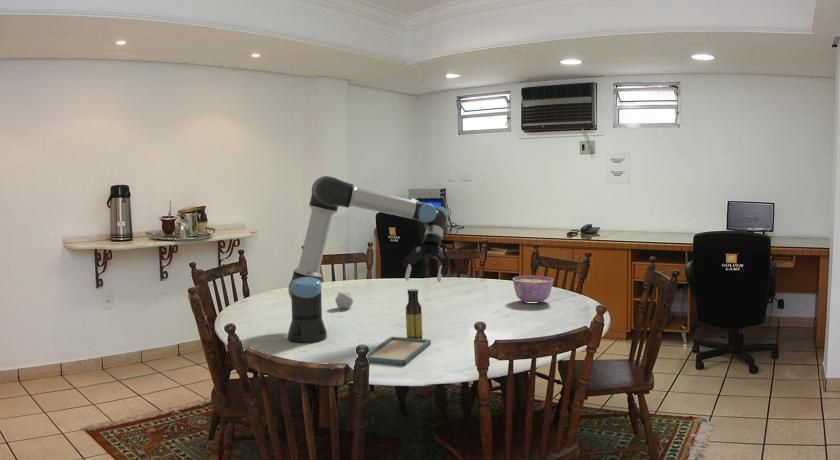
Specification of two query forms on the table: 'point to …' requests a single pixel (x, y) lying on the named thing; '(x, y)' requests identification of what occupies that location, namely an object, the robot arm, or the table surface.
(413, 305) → the sauce bottle
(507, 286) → the table surface
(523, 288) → the bowl of food
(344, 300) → the die
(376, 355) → the teal tray
